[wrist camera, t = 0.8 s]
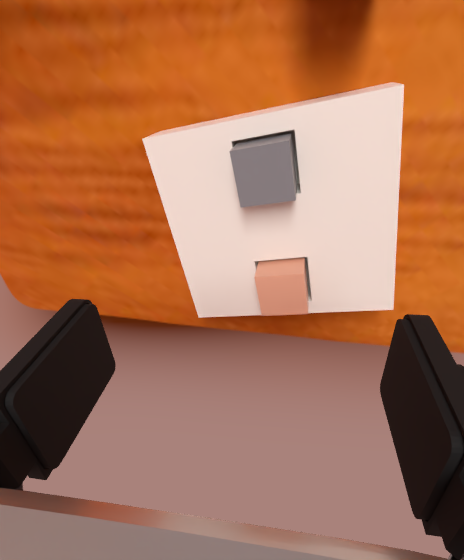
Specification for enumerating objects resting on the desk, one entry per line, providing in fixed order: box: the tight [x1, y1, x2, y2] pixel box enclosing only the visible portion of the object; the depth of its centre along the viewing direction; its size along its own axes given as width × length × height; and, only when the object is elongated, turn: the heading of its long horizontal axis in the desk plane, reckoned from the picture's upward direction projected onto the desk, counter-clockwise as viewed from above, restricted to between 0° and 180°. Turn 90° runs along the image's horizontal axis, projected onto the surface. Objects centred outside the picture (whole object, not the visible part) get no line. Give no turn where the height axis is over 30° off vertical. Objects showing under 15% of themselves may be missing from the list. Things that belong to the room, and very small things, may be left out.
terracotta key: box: [254, 257, 309, 316], centre depth 32 cm, size 4×4×3 cm
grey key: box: [229, 133, 297, 208], centre depth 26 cm, size 4×4×3 cm
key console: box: [142, 82, 404, 318], centre depth 32 cm, size 20×19×4 cm
